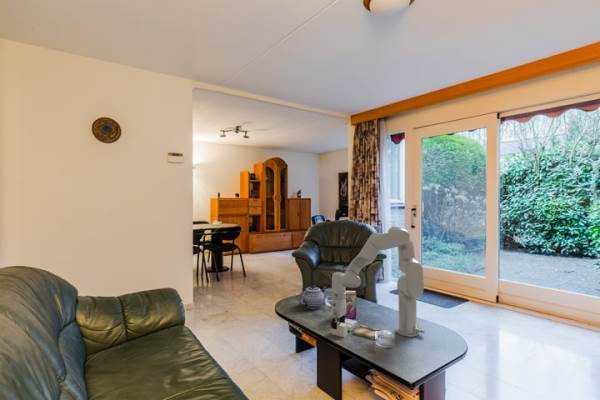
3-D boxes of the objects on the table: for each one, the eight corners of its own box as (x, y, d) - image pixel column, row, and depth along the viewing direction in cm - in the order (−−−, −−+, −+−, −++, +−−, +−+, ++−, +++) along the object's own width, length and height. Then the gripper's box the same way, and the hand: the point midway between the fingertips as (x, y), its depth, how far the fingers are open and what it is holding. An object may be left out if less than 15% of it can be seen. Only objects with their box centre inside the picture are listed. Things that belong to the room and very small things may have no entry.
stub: (347, 334, 166) (347, 323, 166) (344, 337, 163) (344, 326, 163) (334, 331, 171) (334, 320, 170) (331, 333, 167) (331, 323, 167)
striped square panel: (357, 325, 178) (357, 321, 178) (350, 331, 170) (350, 327, 170) (345, 322, 182) (345, 318, 182) (338, 328, 174) (338, 323, 174)
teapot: (304, 314, 195) (304, 291, 195) (292, 307, 208) (291, 285, 207) (334, 305, 209) (333, 284, 209) (320, 299, 222) (320, 279, 221)
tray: (382, 333, 167) (382, 330, 167) (376, 340, 159) (376, 337, 159) (359, 327, 175) (359, 324, 175) (353, 333, 167) (353, 330, 167)
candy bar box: (338, 318, 187) (338, 292, 187) (338, 315, 192) (338, 290, 192) (356, 319, 186) (356, 293, 186) (356, 315, 191) (355, 290, 191)
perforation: (348, 332, 168) (348, 332, 168) (348, 332, 168) (348, 332, 168) (336, 329, 172) (336, 329, 172) (336, 329, 172) (336, 329, 172)
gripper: (337, 300, 157) (337, 333, 157) (351, 292, 171) (350, 321, 172) (325, 298, 161) (324, 329, 161) (339, 289, 175) (339, 318, 176)
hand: (338, 325), depth 166 cm, fingers open, 9 cm apart
